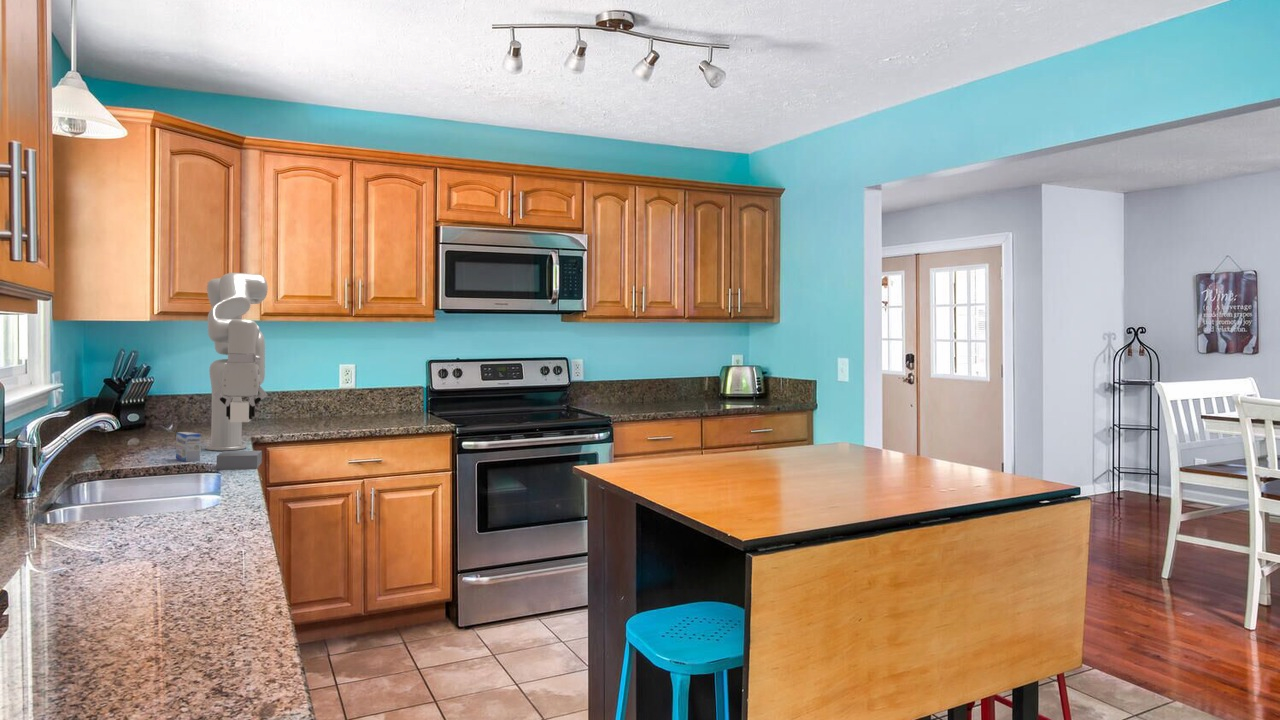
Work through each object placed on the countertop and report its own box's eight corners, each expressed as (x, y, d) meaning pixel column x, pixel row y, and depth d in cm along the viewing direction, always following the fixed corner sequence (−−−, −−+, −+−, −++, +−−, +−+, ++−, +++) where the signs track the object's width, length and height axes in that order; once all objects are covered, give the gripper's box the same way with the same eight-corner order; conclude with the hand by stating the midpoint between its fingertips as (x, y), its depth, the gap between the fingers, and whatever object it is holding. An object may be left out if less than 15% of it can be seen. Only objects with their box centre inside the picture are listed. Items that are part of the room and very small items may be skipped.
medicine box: (175, 459, 251) (175, 432, 251) (190, 458, 255) (190, 431, 255) (185, 462, 247) (186, 434, 246) (200, 460, 250) (201, 433, 250)
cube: (232, 420, 242) (233, 401, 242) (250, 420, 244) (251, 401, 244) (230, 422, 238) (230, 402, 238) (248, 422, 239) (248, 402, 239)
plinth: (222, 463, 245) (222, 451, 245) (261, 463, 248) (261, 450, 248) (216, 469, 234) (216, 456, 234) (257, 468, 238) (257, 455, 238)
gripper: (273, 360, 247) (272, 417, 247) (212, 359, 241) (211, 418, 242) (270, 360, 240) (269, 420, 240) (208, 359, 234) (206, 420, 235)
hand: (240, 418), depth 241 cm, fingers closed on cube, 5 cm apart
